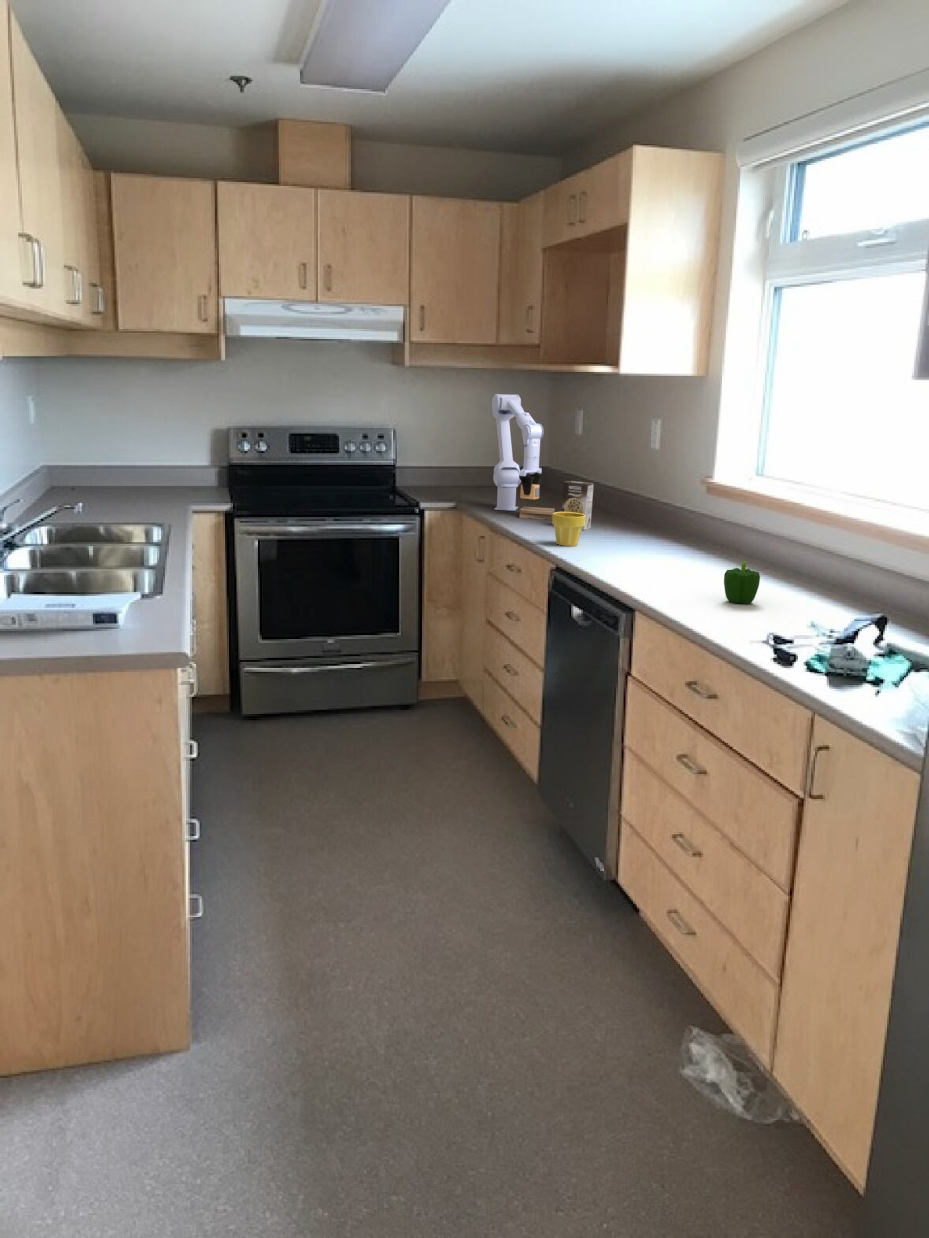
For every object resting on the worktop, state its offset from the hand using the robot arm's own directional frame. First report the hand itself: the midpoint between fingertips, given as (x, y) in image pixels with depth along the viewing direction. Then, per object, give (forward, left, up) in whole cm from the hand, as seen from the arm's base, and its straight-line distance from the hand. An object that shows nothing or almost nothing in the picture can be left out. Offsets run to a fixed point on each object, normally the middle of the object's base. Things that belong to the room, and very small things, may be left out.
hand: (529, 494), depth 371 cm
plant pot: (+56, +19, -9) cm, 59 cm away
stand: (0, +3, -8) cm, 9 cm away
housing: (0, 0, -1) cm, 1 cm away
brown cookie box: (+20, +19, -9) cm, 29 cm away
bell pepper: (+123, +67, -9) cm, 140 cm away
